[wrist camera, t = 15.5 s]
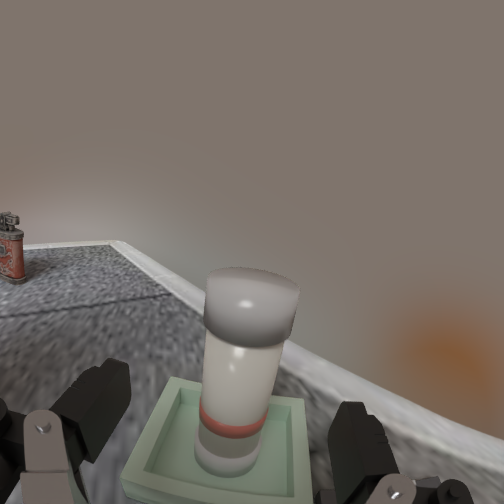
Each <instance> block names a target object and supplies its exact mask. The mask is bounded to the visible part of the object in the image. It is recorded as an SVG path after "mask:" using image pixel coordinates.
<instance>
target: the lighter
mask: <svg viewBox="0 0 504 504" xmlns="http://www.w3.org/2000/svg"><path fill="white" fill-rule="evenodd" d="M14 225H19V217H18V215H13V214H11V212H4V213H0V279H1V280H3V281H5V282H7V283H10V284H13V285H22V284H24V283H26V275H25V272H24V259H23V237H24V232H23V231H21V230H19V229H16V228H15V226H14Z"/></svg>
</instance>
